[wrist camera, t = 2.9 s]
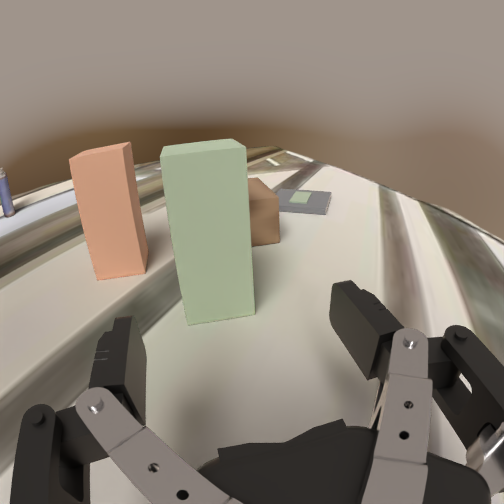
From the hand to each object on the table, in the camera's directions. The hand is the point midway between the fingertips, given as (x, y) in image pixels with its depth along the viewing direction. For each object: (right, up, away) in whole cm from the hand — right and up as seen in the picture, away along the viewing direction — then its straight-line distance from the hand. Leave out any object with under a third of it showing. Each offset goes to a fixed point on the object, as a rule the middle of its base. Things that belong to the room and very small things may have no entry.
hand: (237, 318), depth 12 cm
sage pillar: (-2, -1, +13) cm, 13 cm away
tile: (+8, +10, +33) cm, 35 cm away
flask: (-53, +11, +43) cm, 70 cm away
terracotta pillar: (-13, +1, +19) cm, 23 cm away
